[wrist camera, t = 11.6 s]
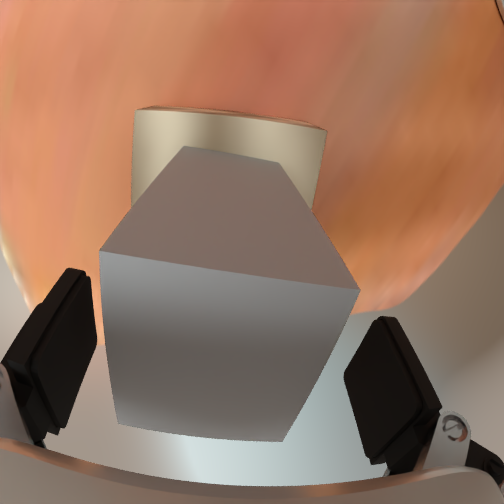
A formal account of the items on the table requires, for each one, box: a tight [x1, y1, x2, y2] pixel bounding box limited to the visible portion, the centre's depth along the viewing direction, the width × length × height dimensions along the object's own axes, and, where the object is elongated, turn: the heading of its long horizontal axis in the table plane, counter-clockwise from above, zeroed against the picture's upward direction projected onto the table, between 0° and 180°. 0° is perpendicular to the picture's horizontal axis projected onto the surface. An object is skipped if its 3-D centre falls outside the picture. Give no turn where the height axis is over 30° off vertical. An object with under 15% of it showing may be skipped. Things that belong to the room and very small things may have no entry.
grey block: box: [99, 146, 360, 442], centre depth 15 cm, size 6×7×14 cm
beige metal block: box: [131, 106, 327, 209], centre depth 24 cm, size 12×12×6 cm
